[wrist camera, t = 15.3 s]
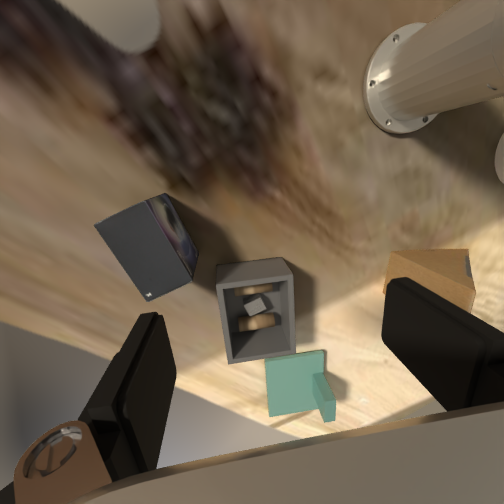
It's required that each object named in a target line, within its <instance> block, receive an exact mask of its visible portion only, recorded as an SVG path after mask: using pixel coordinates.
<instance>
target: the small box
mask: <svg viewBox="0 0 504 504" xmlns="http://www.w3.org/2000/svg"><path fill="white" fill-rule="evenodd" d="M94 227H95V228H96V229H97V231H98V232H99V234H100V235H101V237H102V238H103V240H104V241H105V243H106V244H107V245H108V247H109V248H110V250H111V251H112V253H113V254H114V256H115V257H116V258H117V260H118V261H119V263H120V264H121V266H122V267H123V269H124V270H125V271H126V273H127V274H128V276H129V277H130V279H131V280H132V281H133V283H134V284H135V286H136V287H137V289H138V290H139V292H140V293H141V294H142V296H143V297H144V299H145V300H146V302H150V301H152V300H154V299H156V298H158V297H161V296H163V295H165V294H167V293H169V292H171V291H174V290H176V289H178V288H180V287H182V286H184V285H186V284H189V283H191V282H192V281H193V276H194V272H195V268H196V264H197V260H198V256H199V252H198V250H197V248H196V247H195V245H194V243H193V241H192V239H191V237H190V236H189V234H188V232H187V230H186V228H185V227H184V225H183V223H182V221H181V219H180V217H179V216H178V214H177V212H176V210H175V208H174V207H173V205H172V203H171V201H170V199H169V197H168V196H167V194H166V193H163V194H161V195H158V196H156V197H153V198H150V199H148V200H145V201H142V202H140V203H138V204H136V205H133V206H131V207H129V208H127V209H125V210H122V211H120V212H118V213H116V214H114V215H112V216H110V217H108V218H106V219H104V220H102V221H100V222H97V223H96V224H94Z"/></svg>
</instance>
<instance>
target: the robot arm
mask: <svg viewBox="0 0 504 504" xmlns="http://www.w3.org/2000/svg"><path fill="white" fill-rule="evenodd" d="M363 95H364V102H365V107H366V110H367V112H368V114H369V116H370V118H371V119H372V120H373V122H374V123H375V124H376V125H377V126H378V127H379V128H381V129H383V130H384V131H386V132H390V133H393V134H403V133H409V132H413V131H416V130H418V129H420V128H422V127H424V126H426V125H427V124H428V123H429V122H431V121H432V120H433V119H434V118H435V117H436V116H437V115H438V114H439V113H441V112H445V111H448V110H452V109H456V108H460V107H464V106H468V105H472V104H476V103H480V102H483V101H487V100H491V99H495V98H499V97H503V96H504V0H461V1H459V2H458V3H457V4H455V5H454V6H452V7H451V8H449V9H448V10H447V11H445V12H444V13H442V14H441V15H440V16H438V17H437V18H435V19H434V20H432V21H431V22H430V23H428V24H427V23H412V24H408V25H405V26H403V27H401V28H399V29H397V30H396V31H394V32H393V33H392V34H390V35H389V36H388V37H387V38H386V39H385V40H383V42H382V43H381V44H380V45H379V46H378V47H377V49H376V50H375V52H374V54H373V55H372V57H371V59H370V61H369V64H368V66H367V69H366V73H365V77H364V85H363ZM381 337H382V340H383V342H384V344H385V345H386V346H387V347H388V348H389V349H390V350H391V351H392V352H393V354H394V355H395V356H396V357H397V358H398V359H399V360H400V361H401V362H402V363H403V364H404V365H405V366H406V368H407V369H408V370H409V371H410V372H411V373H412V374H413V375H414V376H415V377H416V378H417V379H418V380H419V382H420V383H421V384H422V385H423V386H424V387H425V388H426V389H427V390H428V391H429V392H430V393H431V394H432V396H433V397H434V398H435V399H436V400H437V401H438V402H439V403H440V404H441V405H442V406H443V407H444V408H445V409H446V410H447V412H443V413H438V414H431V415H426V416H421V417H416V418H410V419H404V420H399V421H394V422H389V423H383V424H378V425H373V426H367V427H362V428H357V429H352V430H346V431H341V432H336V433H331V434H326V435H320V436H315V437H310V438H305V439H300V440H295V441H290V442H285V443H279V444H274V445H269V446H264V447H259V448H255V449H249V450H244V451H239V452H234V453H229V454H224V455H219V456H214V457H210V458H205V459H200V460H196V461H191V462H187V463H182V464H177V465H173V466H168V467H163V468H159V469H156V467H157V463H158V458H159V454H160V449H161V445H162V440H163V435H164V431H165V426H166V421H167V417H168V412H169V408H170V403H171V398H172V394H173V390H174V385H175V381H176V365H175V361H174V357H173V353H172V349H171V345H170V341H169V337H168V333H167V329H166V325H165V321H164V318H163V315H158V313H157V312H151V313H144V314H140V316H139V317H138V319H137V321H136V323H135V325H134V326H133V328H132V330H131V332H130V334H129V335H128V337H127V339H126V341H125V342H124V344H123V346H122V348H121V350H120V351H119V352H118V353H116V355H115V356H114V357H113V359H112V361H111V363H110V364H109V366H108V368H107V370H106V371H105V373H104V375H103V377H102V378H101V380H100V382H99V384H98V385H97V387H96V389H95V391H94V392H93V394H92V396H91V398H90V399H89V401H88V403H87V405H86V406H85V408H84V410H83V411H82V413H81V415H80V417H79V418H78V420H77V421H68V422H66V423H63V424H60V425H58V426H56V427H54V428H53V429H50V430H49V431H48V432H46V433H45V434H43V435H42V436H41V437H39V438H38V439H37V440H36V441H35V442H34V443H33V444H32V445H31V446H30V447H29V448H28V449H27V450H26V451H25V453H24V454H23V455H22V457H21V458H20V459H19V461H18V464H17V466H16V468H15V470H14V477H13V482H11V483H10V484H9V485H7V486H6V487H5V488H3V489H2V490H1V491H0V504H504V333H503V332H501V331H499V330H498V329H496V328H494V327H493V326H491V325H489V324H487V323H486V322H484V321H482V320H481V319H479V318H477V317H475V316H474V315H472V314H470V313H469V312H467V311H465V310H463V309H462V308H460V307H458V306H457V305H455V304H453V303H451V302H450V301H448V300H446V299H445V298H443V297H441V296H439V295H438V294H436V293H434V292H433V291H431V290H429V289H427V288H426V287H424V286H422V285H421V284H419V283H417V282H415V281H414V280H412V279H410V278H408V277H400V278H393V279H391V280H390V282H389V283H388V284H387V287H386V296H385V305H384V315H383V324H382V333H381Z"/></svg>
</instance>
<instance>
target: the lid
mask: <svg viewBox="0 0 504 504" xmlns="http://www.w3.org/2000/svg"><path fill="white" fill-rule="evenodd" d="M265 372H266V384H267V397H268V410H269V417H273V416H279V415H285V414H291V413H297V412H303V411H308V410H314V409H319V411H320V413H321V416H322V418H323V421H324V423H325V422H331V421H335V414H336V399H335V397H334V395H333V392H332V390H331V388H330V386H329V384H328V382H327V380H326V378H325V376H324V374H323V372H324V352H323V350H320V351H313V352H307V353H300V354H293V355H287V356H280V357H274V358H267V359H265Z"/></svg>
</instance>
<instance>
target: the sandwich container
mask: <svg viewBox="0 0 504 504" xmlns="http://www.w3.org/2000/svg"><path fill="white" fill-rule="evenodd" d="M400 277H408V278H410V279H412V280H414V281H415V282H417V283H419V284H421V285H422V286H424V287H426V288H427V289H429V290H431V291H433V292H434V293H436V294H438V295H439V296H441V297H443V298H445V299H446V300H448V301H450V302H451V303H453V304H455V305H457V306H458V307H460V308H462V309H463V310H465V311H467V312H469V313H471V309H472V306H473V302H474V298H475V295H476V290H475V286H474V282H473V278H472V273H471V267H470V260H469V251H468V249H425V251H421V250H406V251H392V252H391V254H390V259H389V264H388V269H387V274H386V279H385V284H384V289H383V293H384V294H385V295H386V287H387V284H388V283H389V282H390V280H391V279H393V278H400Z"/></svg>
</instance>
